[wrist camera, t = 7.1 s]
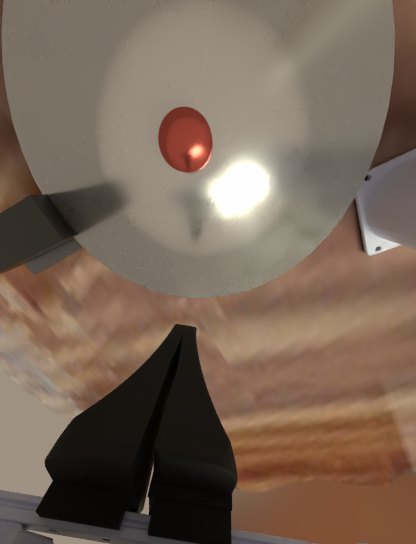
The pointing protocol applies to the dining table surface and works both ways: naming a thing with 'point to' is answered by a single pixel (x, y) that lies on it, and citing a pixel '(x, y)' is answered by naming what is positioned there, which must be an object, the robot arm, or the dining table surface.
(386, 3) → the cooker lid
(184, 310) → the dining table surface
